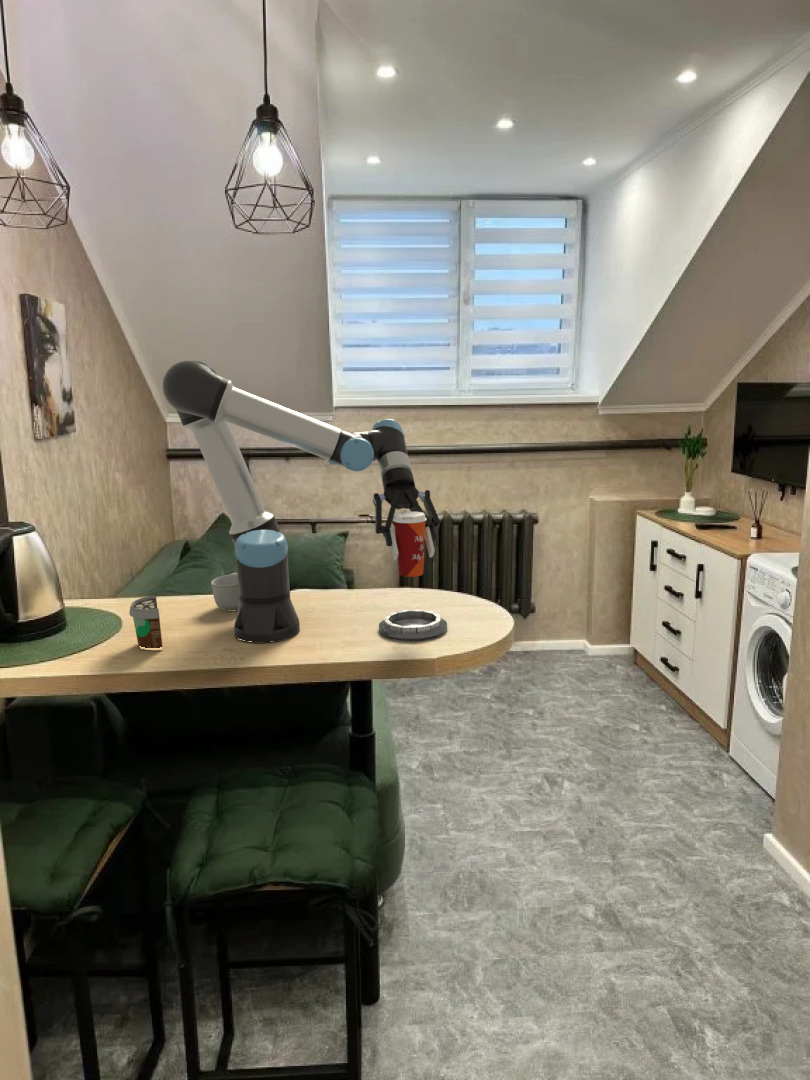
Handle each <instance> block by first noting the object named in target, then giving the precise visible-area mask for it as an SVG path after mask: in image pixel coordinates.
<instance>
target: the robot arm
mask: <svg viewBox="0 0 810 1080" xmlns="http://www.w3.org/2000/svg"><path fill="white" fill-rule="evenodd" d="M162 391H163V395H164V398H165V400H166V401H167V403H168V404H169V405H170V406H171V407H172V408H174V409H175V411H176V414H177V415H178V418H179V420H180V422H181V424H182V427H183V428H185V429H187V430H190V431H191V432H192V433H193V436H194V438H195V440H196V443H197V446H198V448H199V449H200V453H201V454H202V456H203V459H204V462H205V463H206V464H205V465H206V466H207V468H208V471H209V474H210V476H211V478H212V480H213V483H214V485H215V487H216V489H217V492H218V495H219V496H220V498H221V499H220V500H221V501H222V503H223V507H224V508H225V510H226V513H227V514H228V518H229V520H230V522H231V526H230V529H229V531H228V533H229V536H230V538H231V540H232V542H233V545H234V547H235V548H234V555H235V558H236V559H235V560H236V573H237V574H238V586H239V598H240V604H239V608H238V610H237V612H236V618H235V621H234V626H233V630H234V631H233V632H234V637H235V636H236V637H237V638H239V639H242V640H245V641H252V642H269V643H271V642H270V641H276V642H280V641H279V640H281V641H284V639H285V640H287V639H290V638H292V637H295V636H296V635H297V634H299V633H300V631H301V629H300V628H301V626H300V619H299V617H298V614H297V612H296V609H295V607H294V605H293V602H292V600H291V590H290V589H291V588H290V574H289V573H290V572H289V556H288V551H289V546H288V543H287V539H286V536H285V535H284V533H283V532H282V531H281V530H280V527H279V524H278V522H277V520H276V517H275V515H274V513H271V512H269V511H267V510H266V509H265V507H264V504H263V502H262V500H261V498H260V495H259V493H258V490H257V487H256V486H255V483H254V481H253V478H252V476H251V474H250V472H249V468H248V466H247V464H246V462H245V459H244V456H243V454H242V451H241V449H240V447H239V444H238V442H237V439H236V437H235V434H234V433H233V430H232V428H231V425H230V424H233V425H235V426H238V427H240V428H244V429H246V430H249V431H251V432H254V433H257V434H259V435H262V436H265V437H268V438H270V439H272V440H275V441H278V442H281V443H282V444H286V445H288V446H291V447H294V448H296V449H299V450H301V451H305V452H307V453H310V454H312V455H315V456H317V457H320V458H322V459H325V460H328V463H329V465H333V466H337V465H339V466H342V467H344V468H346V469H347V470H350V471H353V472H361V471H364V470H366V469H368V468H369V467H370V466H371V464H372V463H373V462H375V461H377V463H378V466H379V472H380V477H381V482H382V487H383V493H381V494H379V493H377V492H375V493H373V499H372V503H373V505H374V510H375V512H374V513H375V515H374V516H375V521H374V522H375V526H374V527H375V529H374V530H375V534H377V535H379V534H382V536H383V538H384V539H385V540H384V541H385V546H387V547H390V548H391V554H392V559H393V561H398V549H397V544H396V534H395V528H394V529H391V528H392V525H393V524H392V523H393V522H394V521H393V519H394V517H395V514H396V510H401V509H402V510H403V509H406V510H408V509H409V512H422V513H424V514H425V518H426V519H427V520H426V521H425V544H426V549H427V551H428V552H427V553H428V557H429V558H433V557H434V554H435V551H436V550H435V546H434V543H435V542H436V538H437V537H436V534H435V533H436V532H435V531H436V530H439V528H440V524H441V520H440V518H439V516H438V513H437V510H436V508H435V506H434V504H433V502H432V499H431V491H430V490H429V489H425V491H419V489H417V487H416V484H415V479H414V474H413V471H412V465H411V461H410V457H409V454H408V449H407V445H406V444H407V443H406V439H405V437H406V436H405V434H404V431H403V429H402V426H401V424H400V423H399V421H397V420H395V419H392V418H384V419H382V420H380V421H376V422H375V423H374V424H373V426H372V429H371V430H366V431H354V432H353V431H352V432H348V431H346V430H342V429H340V428H338V427H336V426H333V425H330V424H328V423H325V422H323V421H320V420H318V419H315V418H313V417H310V416H309V415H308V416H307V415H306V414H303V413H300V412H298V411H296V410H292V409H290V408H287V407H284V406H282V405H280V404H278V403H275V402H273V401H270V400H268V399H265V398H262V397H261V396H257V395H255V394H252V393H250V392H247V391H245V390H242V389H240V388H238V387H235V386H234V385H233V382H232V380H230V379H227V378H224V377H222V376H220V375H218V373H217V372H216V371H215V369H213V368H212V367H211V366H210V365H208V364H206V363H204V362H202V361H199V360H198V361H197V360H183V361H179V362H176V363H174V364H173V365H172V366H170V367H169V368H168V370H166V372H165V374H164V376H163V380H162ZM418 498H419V499H420V501H421V502H422V503H423V507H424V509H425V511H426V512H425V511H424V509H422V507H421V506H420V504H419V501H418V500H417V499H418ZM384 501H386V503H388V504H389V505H390V508H389V510H388V515H387V519H386V521H385V524H384V525H383V524H382V523H383V515H382V514H383V509H382V508H383V507H382V505H383V503H384ZM236 637H235V638H236ZM237 638H236V639H237Z"/></svg>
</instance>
